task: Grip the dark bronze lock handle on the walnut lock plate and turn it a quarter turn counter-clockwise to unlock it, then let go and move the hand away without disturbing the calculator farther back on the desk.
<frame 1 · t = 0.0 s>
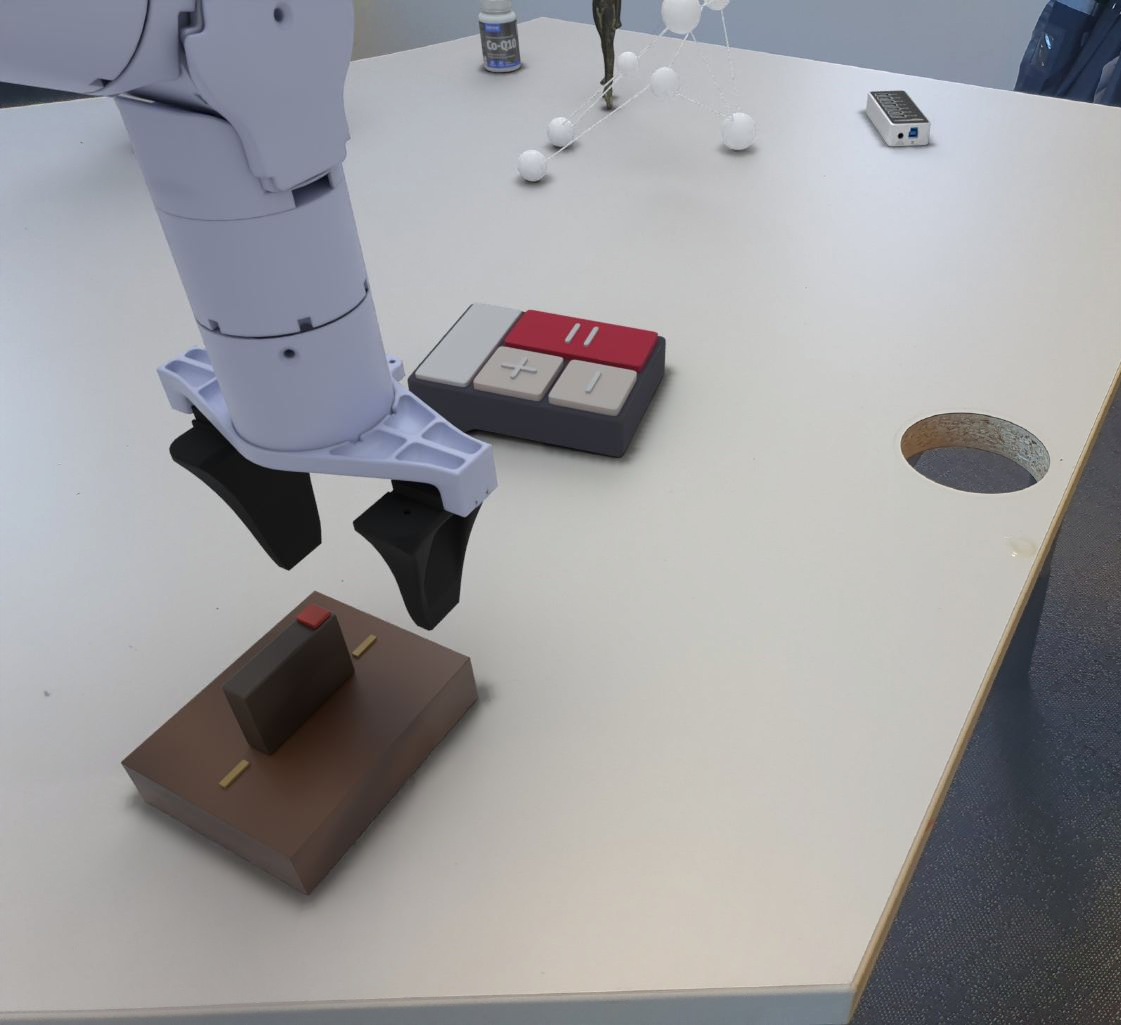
hand: (367, 583, 42), 10 cm above the table, tool pointing down, fingers open, 7 cm apart
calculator: (544, 400, 71), on the table
lock plate: (319, 746, 48), on the table
multiport hub: (895, 129, 111), on the table
statue: (605, 106, 118), on the table
molecule model: (639, 160, 105), on the table
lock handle: (291, 676, 44), point 5 cm above the table, hinge at 0.0°
radio: (233, 139, 110), on the table
pill bottle: (503, 69, 128), on the table
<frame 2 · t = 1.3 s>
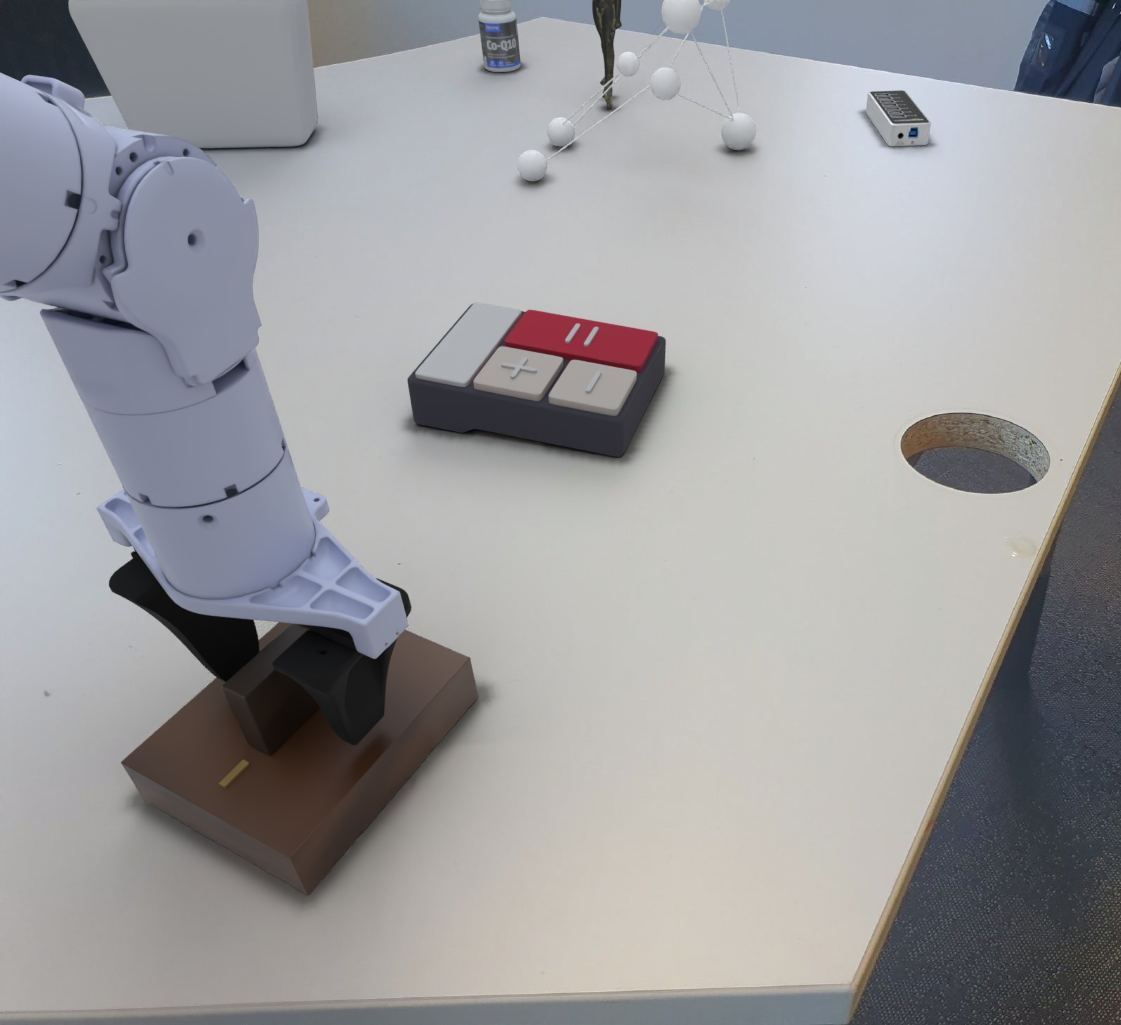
hand: (299, 695, 45), 4 cm above the table, tool pointing down, fingers open, 7 cm apart
nothing on the table moved.
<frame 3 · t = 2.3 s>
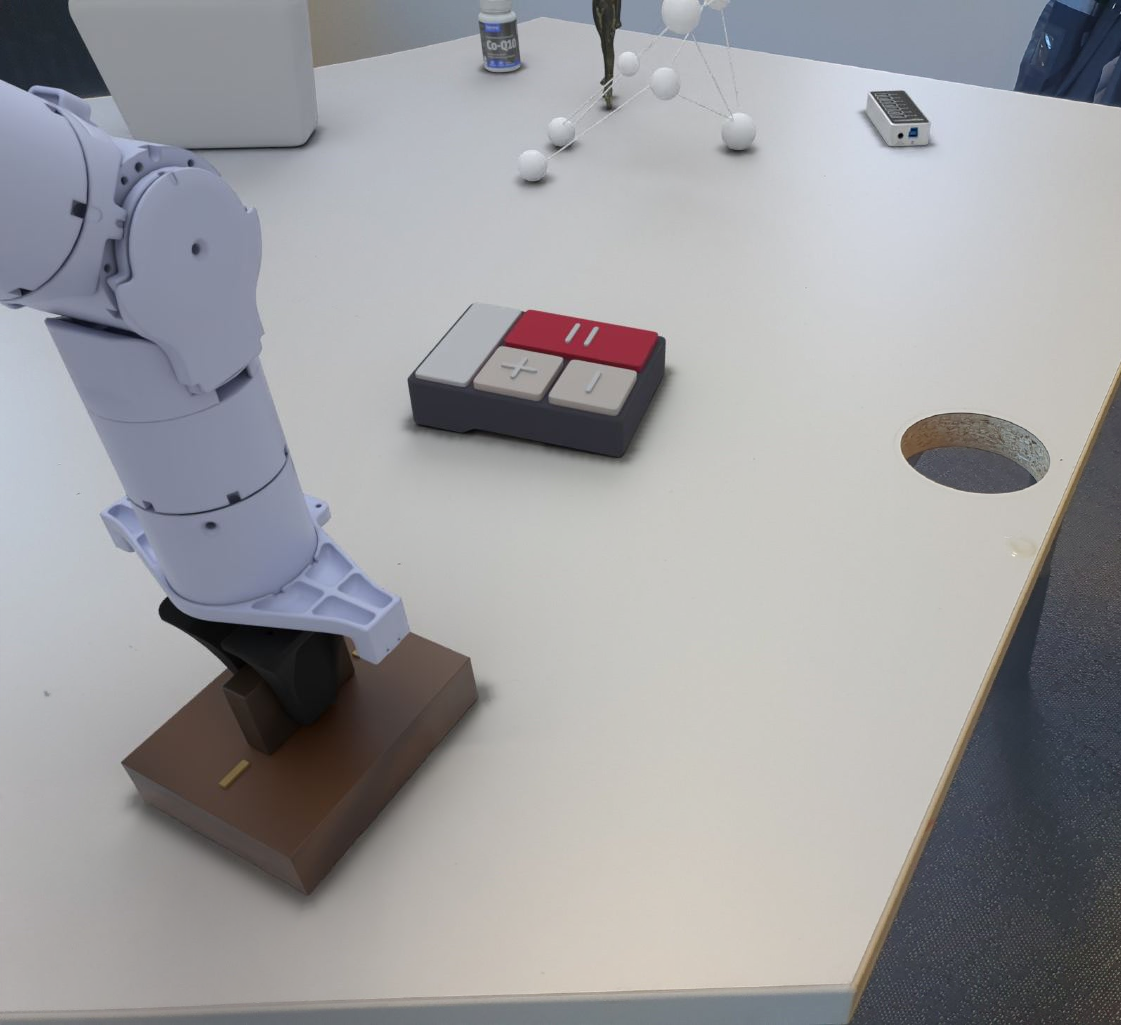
hand: (301, 700, 46), 4 cm above the table, tool pointing down, fingers closed on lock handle
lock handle: (291, 676, 44), point 5 cm above the table, hinge at -0.1°, touching gripper
everything else where it was.
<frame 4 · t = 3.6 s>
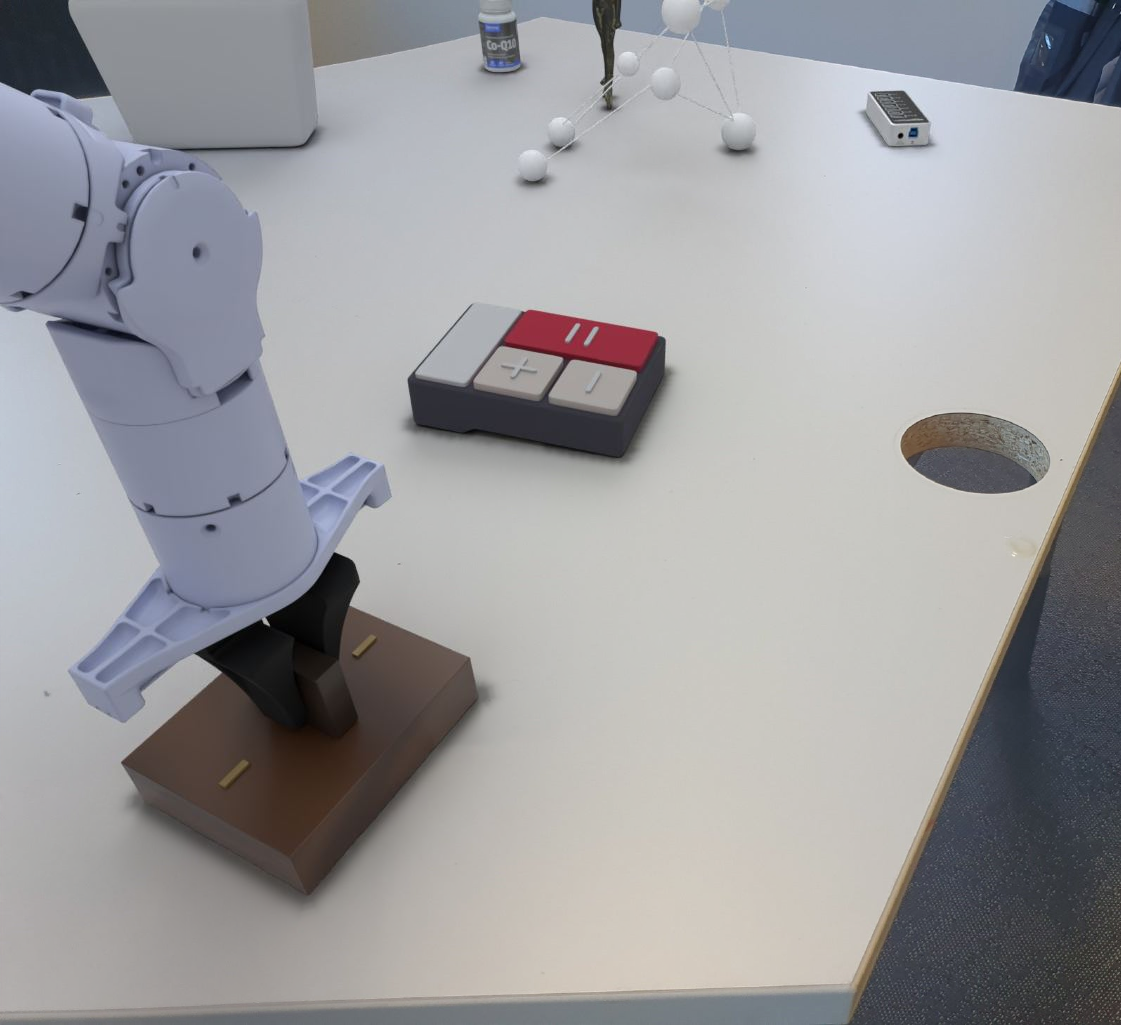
hand: (301, 701, 46), 3 cm above the table, tool pointing down, fingers closed, pressing on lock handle
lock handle: (291, 676, 44), point 5 cm above the table, hinge at 89.5°, touching gripper
everything else where it was.
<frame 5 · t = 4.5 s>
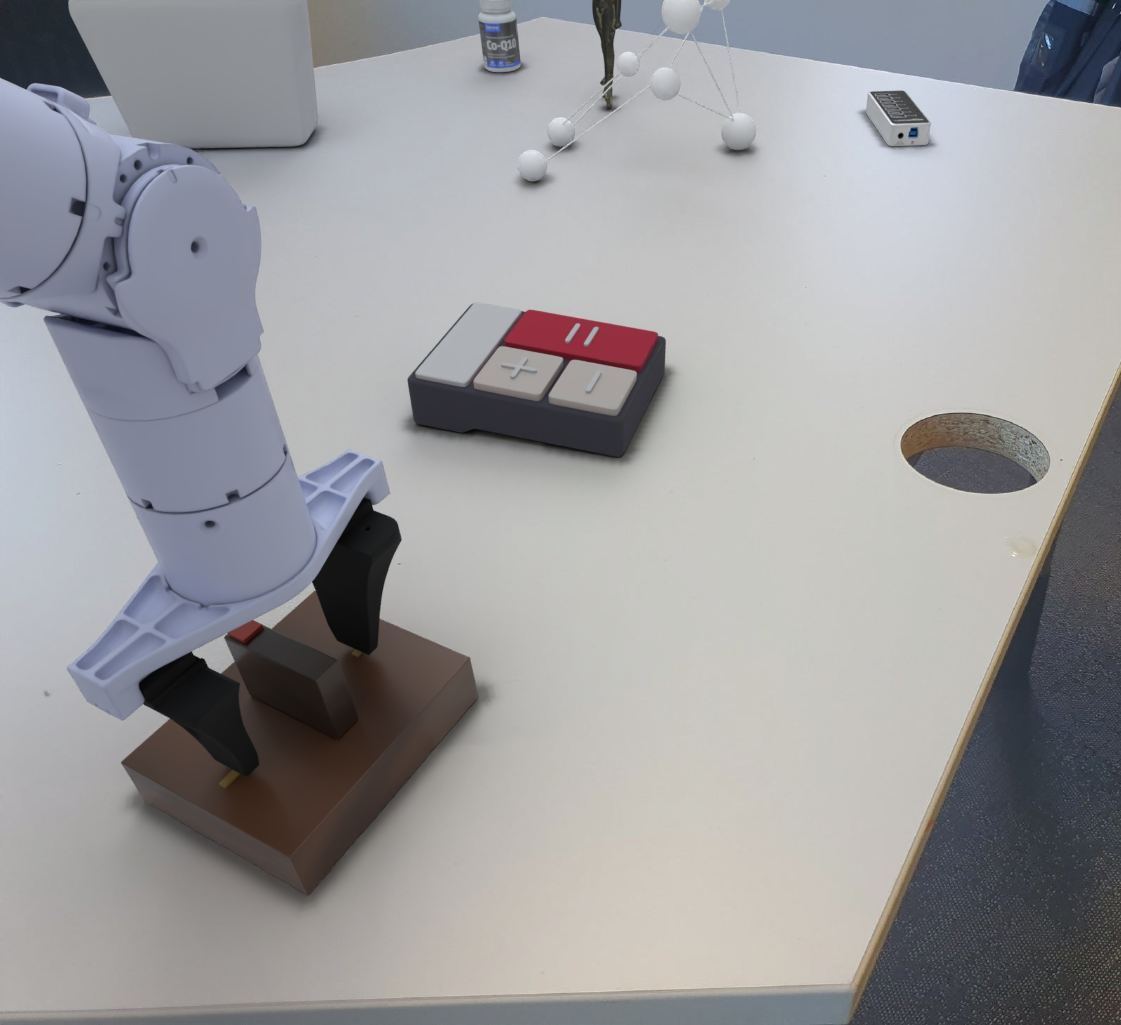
hand: (300, 699, 46), 4 cm above the table, tool pointing down, fingers open, 7 cm apart
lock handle: (291, 676, 44), point 5 cm above the table, hinge at 89.5°
everything else where it was.
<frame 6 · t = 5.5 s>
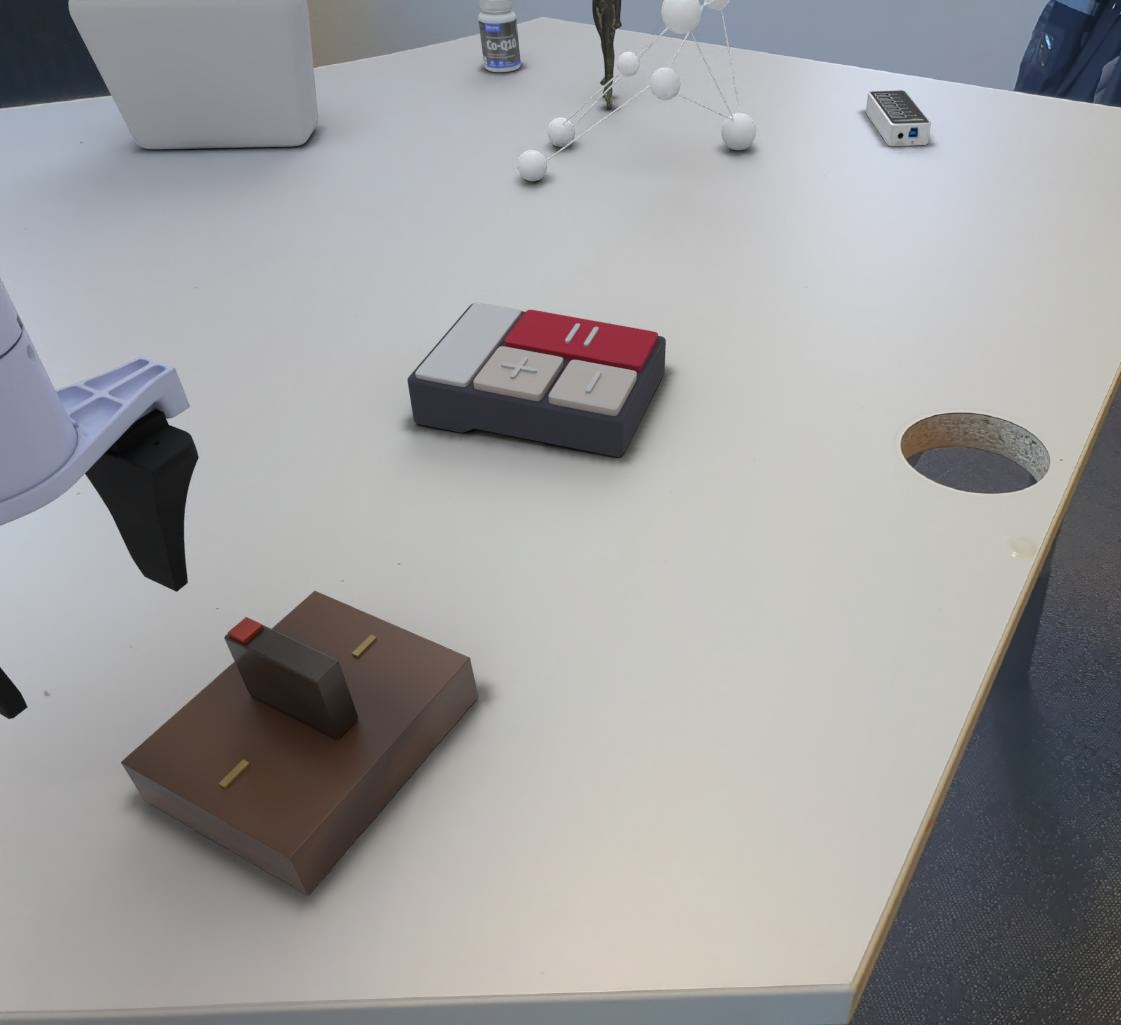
hand: (90, 637, 41), 9 cm above the table, tool pointing down, fingers open, 7 cm apart
nothing on the table moved.
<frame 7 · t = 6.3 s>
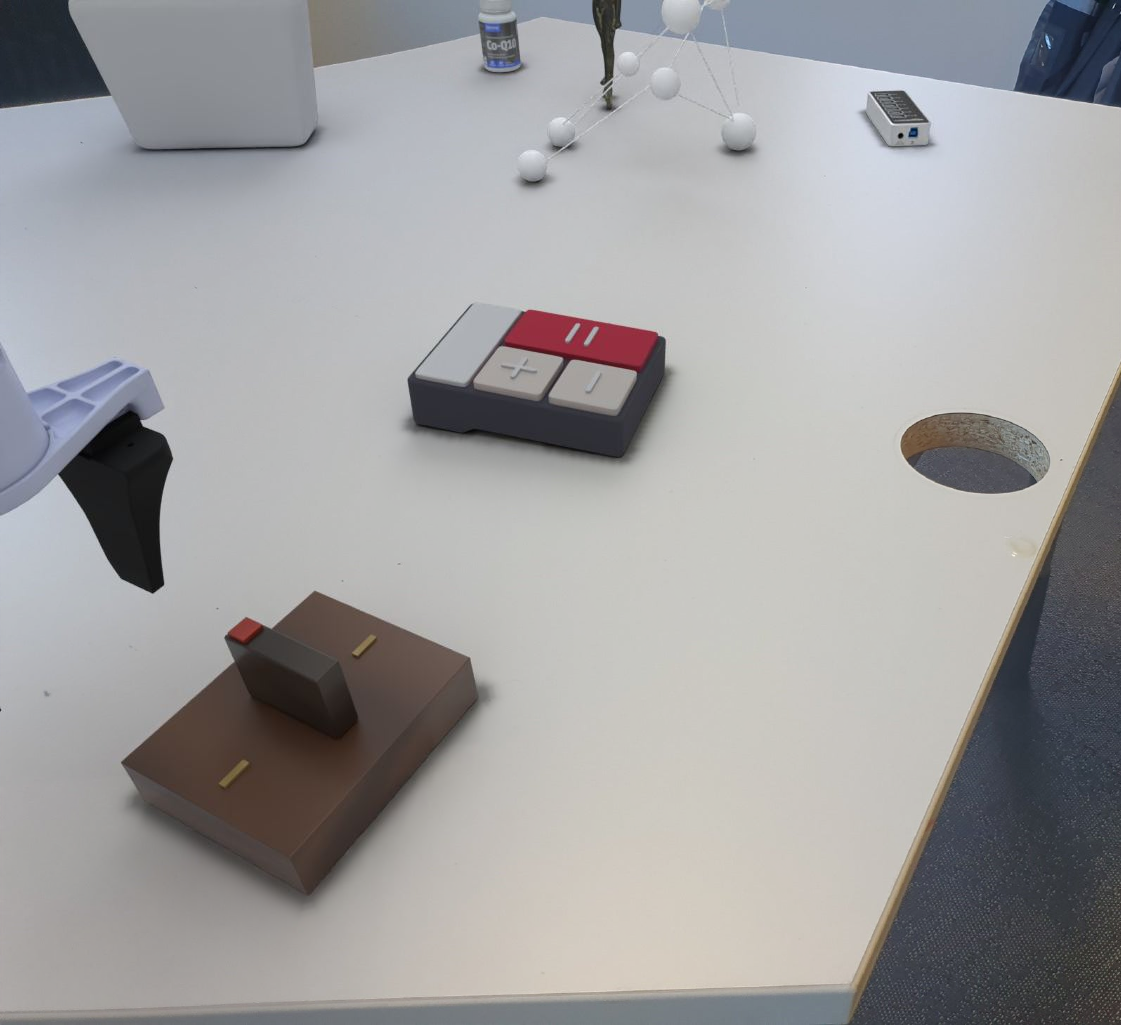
hand: (65, 640, 40), 9 cm above the table, tool pointing down, fingers open, 7 cm apart
nothing on the table moved.
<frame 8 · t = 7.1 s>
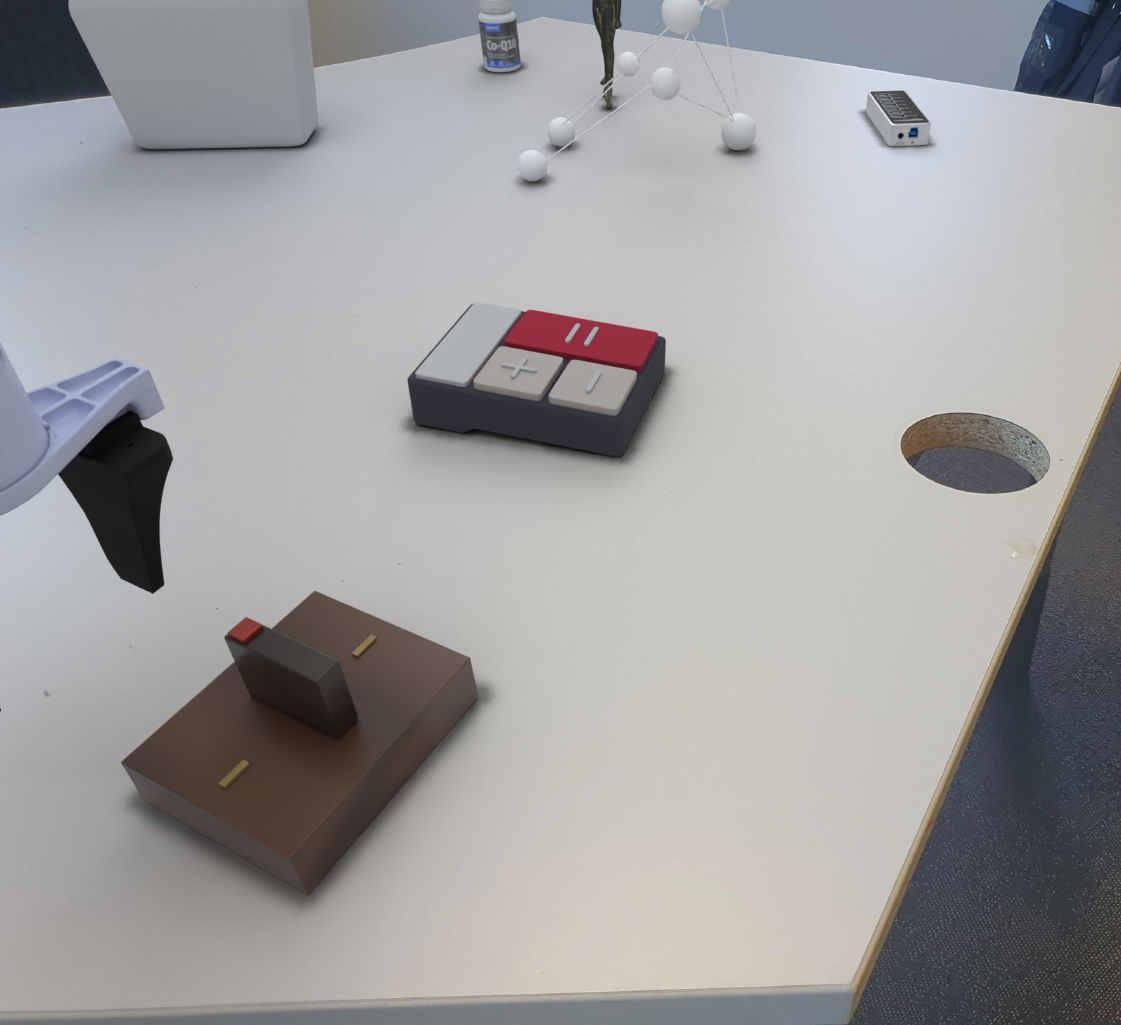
hand: (65, 640, 40), 9 cm above the table, tool pointing down, fingers open, 7 cm apart
nothing on the table moved.
at the end: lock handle at +90° (first picture: +0°); the gripper is holding nothing; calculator moved 0.2 cm from its start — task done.
